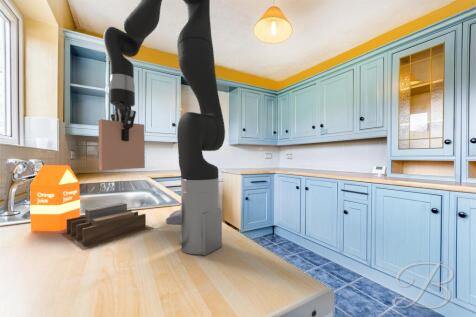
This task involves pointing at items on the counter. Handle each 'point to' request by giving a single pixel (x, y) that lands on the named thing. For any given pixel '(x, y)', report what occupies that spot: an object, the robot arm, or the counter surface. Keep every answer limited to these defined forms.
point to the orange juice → (54, 198)
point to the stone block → (174, 218)
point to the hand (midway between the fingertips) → (123, 141)
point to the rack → (103, 230)
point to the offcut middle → (104, 211)
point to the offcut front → (111, 218)
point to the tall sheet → (120, 146)
